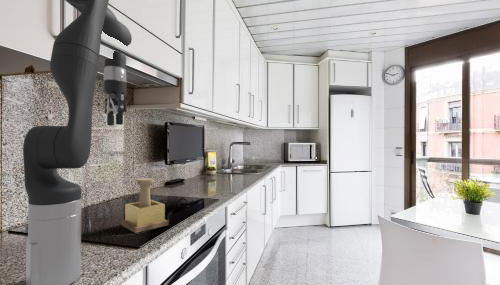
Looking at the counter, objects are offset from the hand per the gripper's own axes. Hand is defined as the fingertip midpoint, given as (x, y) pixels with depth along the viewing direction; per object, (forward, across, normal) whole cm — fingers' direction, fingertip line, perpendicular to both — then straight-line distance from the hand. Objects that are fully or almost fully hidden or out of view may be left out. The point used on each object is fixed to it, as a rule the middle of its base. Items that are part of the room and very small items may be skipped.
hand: (114, 125), depth 98 cm
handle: (+35, +10, +7) cm, 37 cm away
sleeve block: (+36, +10, +7) cm, 38 cm away
